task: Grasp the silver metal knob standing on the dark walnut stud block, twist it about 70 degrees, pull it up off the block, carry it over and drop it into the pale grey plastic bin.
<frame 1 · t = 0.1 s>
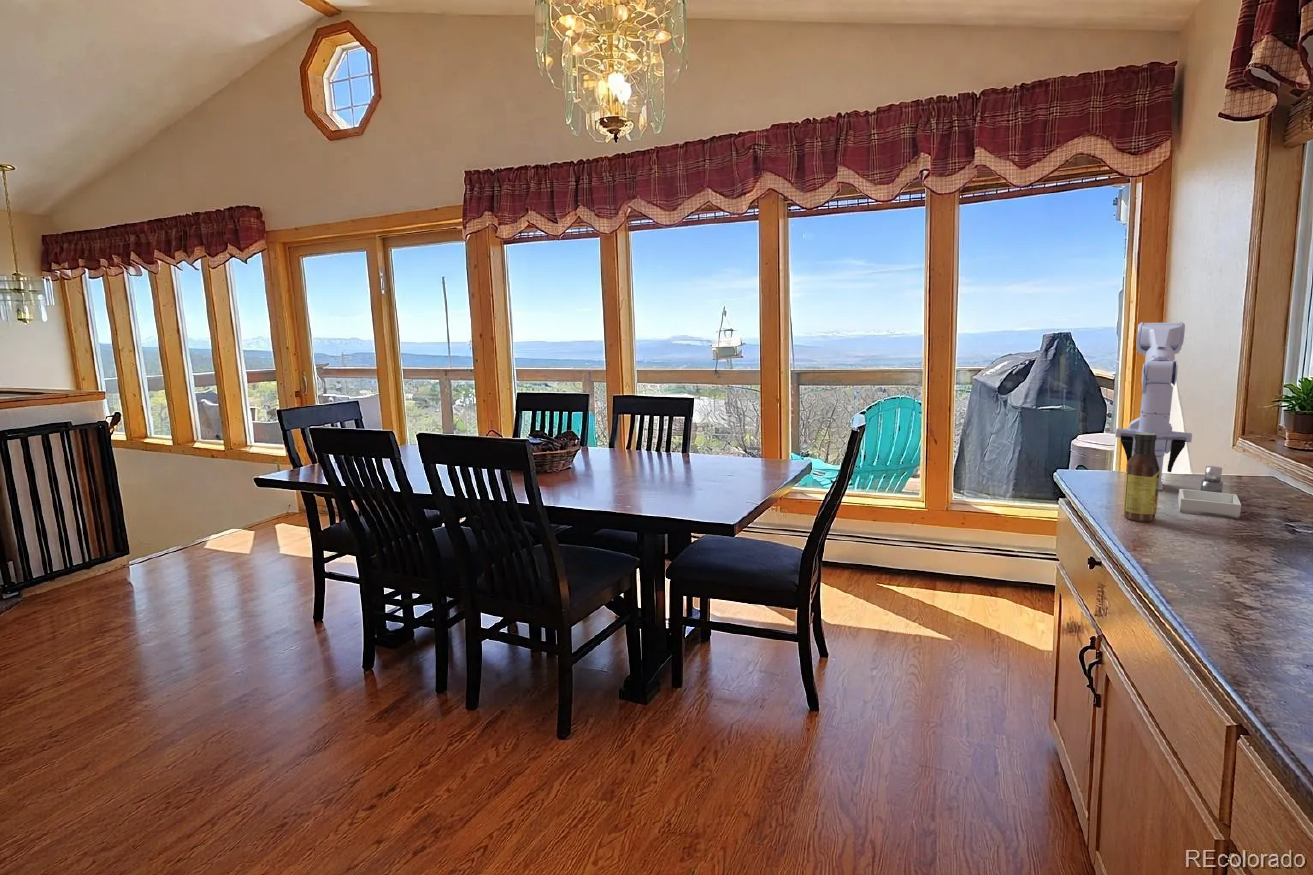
hand: (1149, 469, 166), 10 cm above the counter, fingers open, 7 cm apart
bin: (1207, 509, 167), on the counter
silver metal knob: (1210, 495, 174), point 2 cm above the counter, touching stud block
stud block: (1209, 501, 174), on the counter
sauce bottle: (1138, 519, 162), on the counter
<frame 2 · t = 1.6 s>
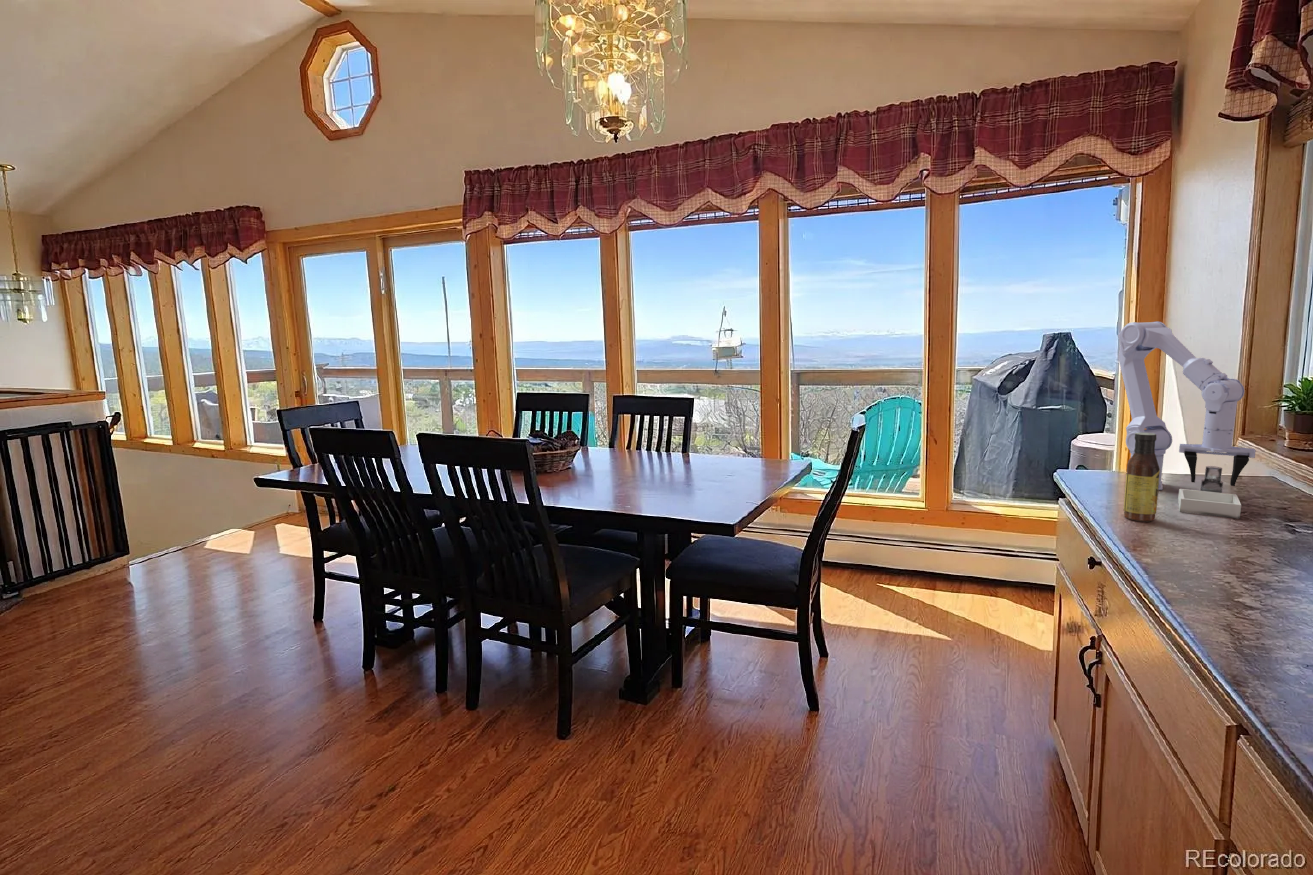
hand: (1212, 483, 173), 5 cm above the counter, fingers open, 7 cm apart
nothing on the counter moved.
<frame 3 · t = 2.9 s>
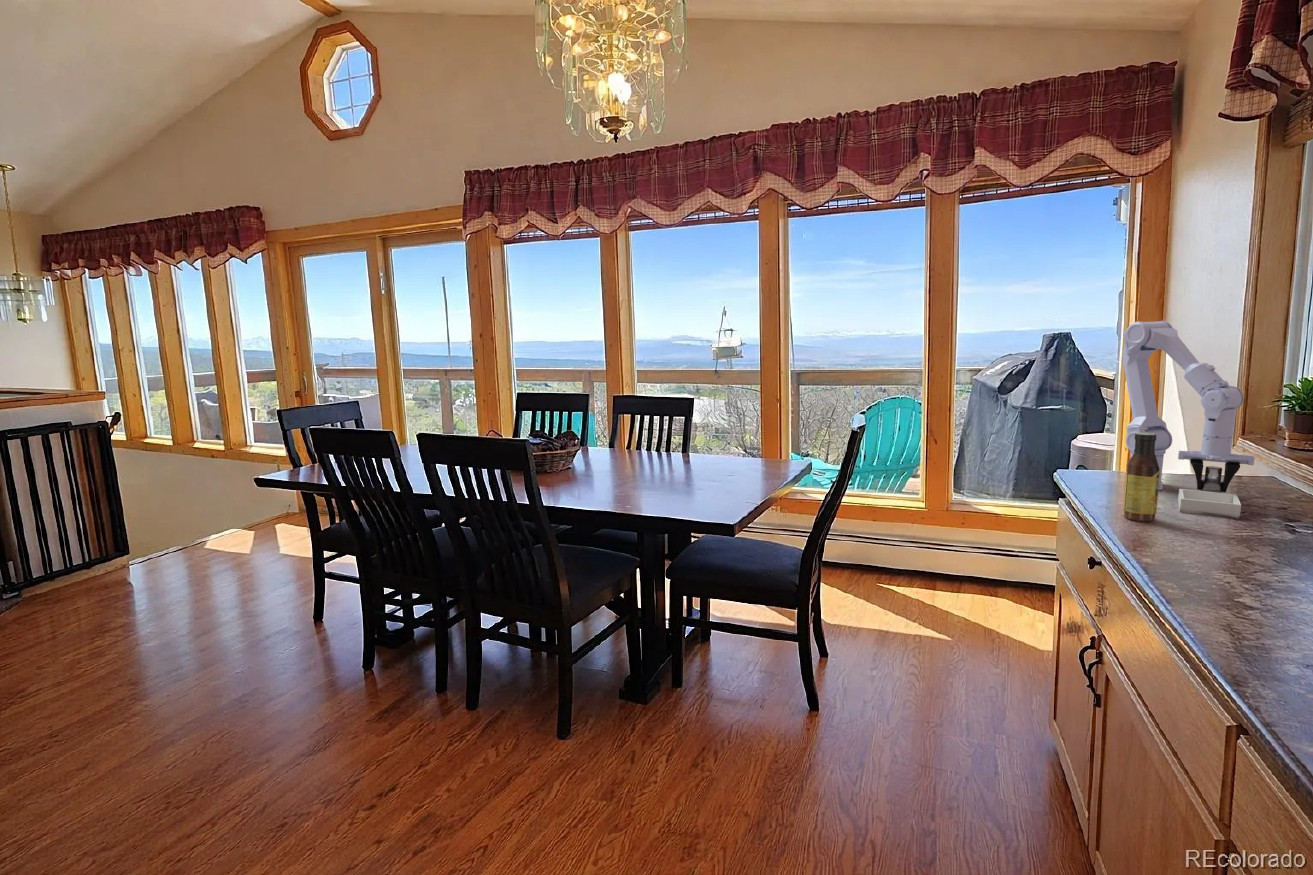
hand: (1211, 490, 174), 3 cm above the counter, fingers closed on silver metal knob, 4 cm apart
silver metal knob: (1210, 495, 174), point 2 cm above the counter, touching gripper, stud block
everything else where it was.
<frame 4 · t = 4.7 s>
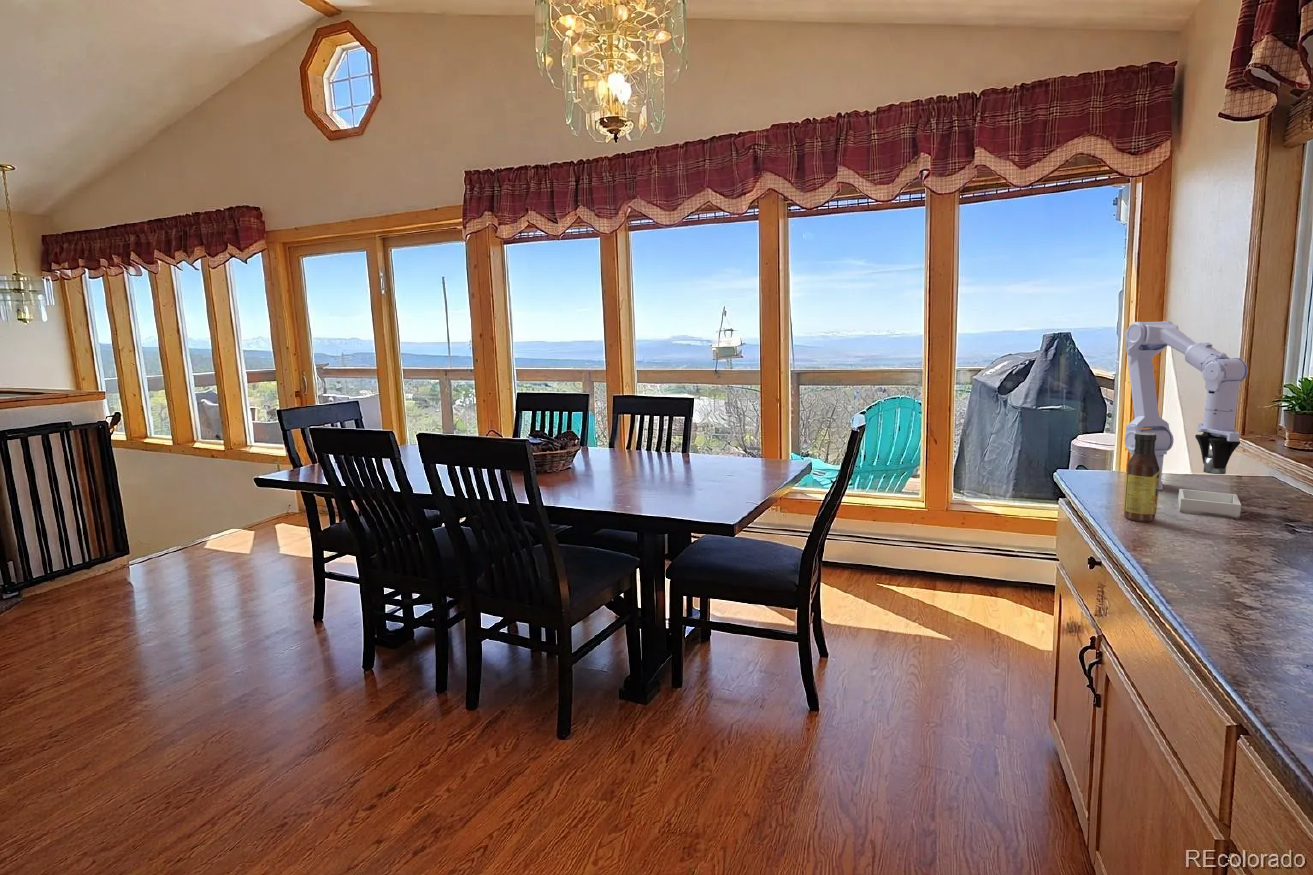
hand: (1213, 466, 168), 10 cm above the counter, fingers closed on silver metal knob, 4 cm apart
silver metal knob: (1214, 472, 168), point 9 cm above the counter, touching gripper
everything else where it was.
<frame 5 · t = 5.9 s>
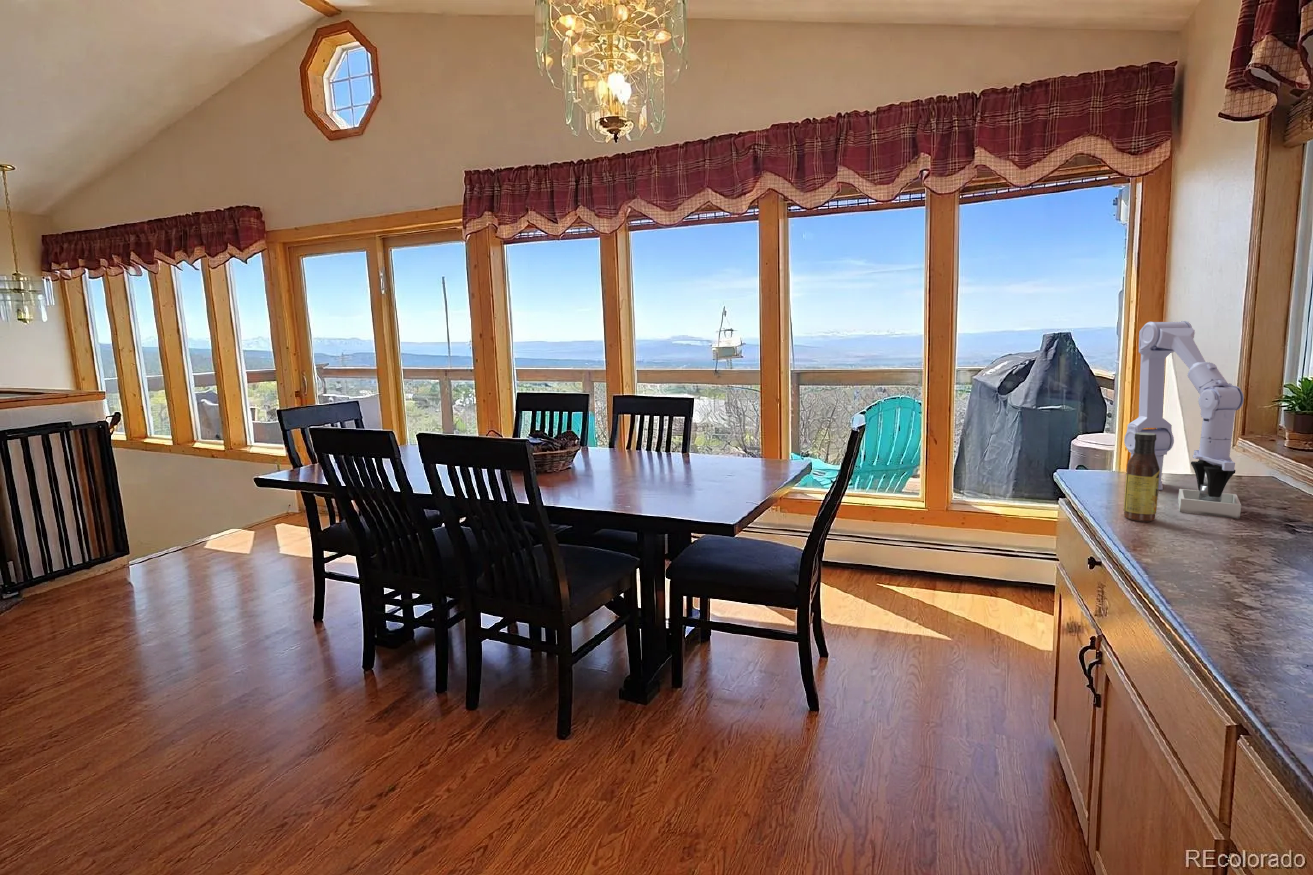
hand: (1209, 493, 167), 4 cm above the counter, fingers closed on silver metal knob, 4 cm apart
silver metal knob: (1209, 500, 167), point 2 cm above the counter, touching gripper
everything else where it was.
when the fingers open (4 cm above the counter, at t = 6.7 s): silver metal knob drops 2 cm, resting on bin.
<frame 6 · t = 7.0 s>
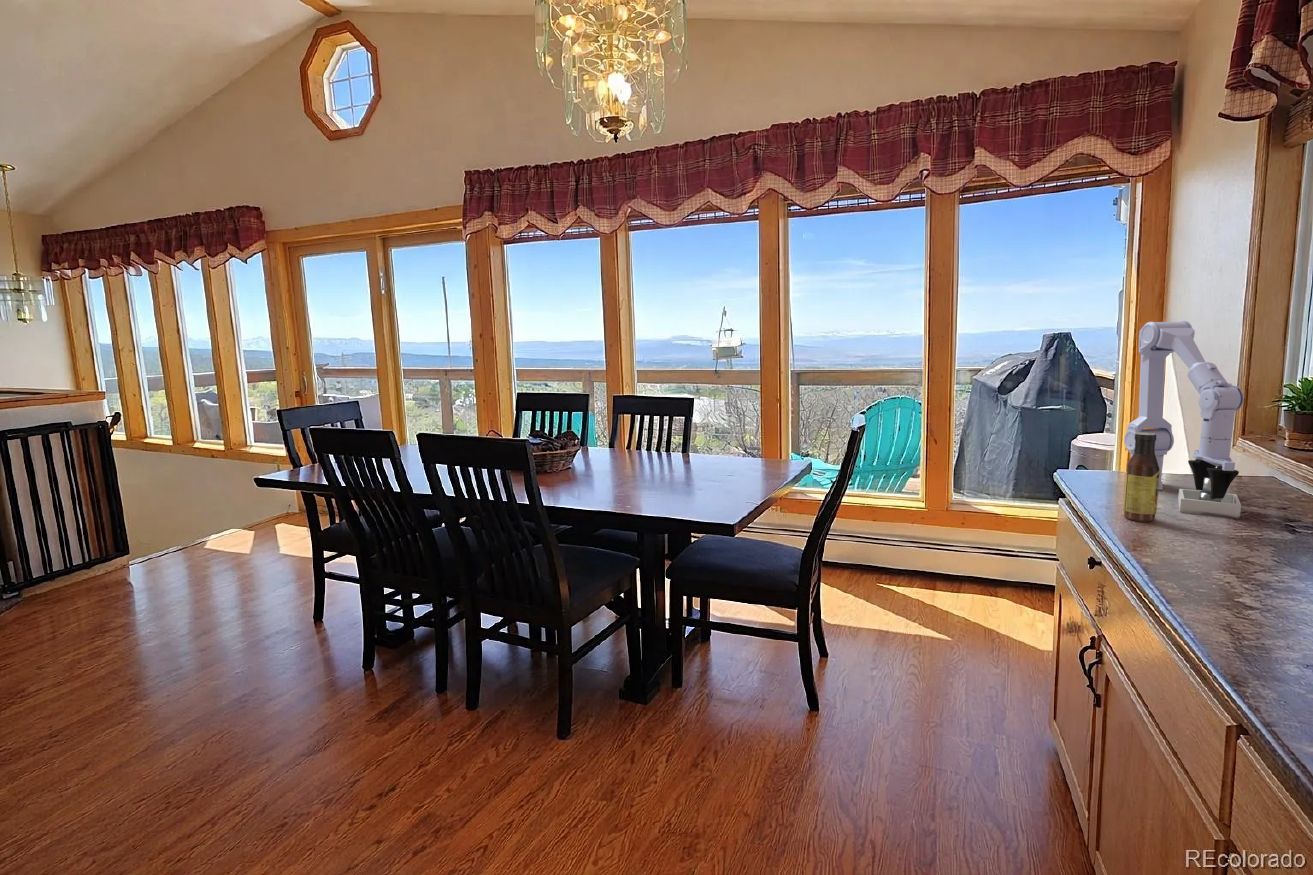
hand: (1209, 493, 167), 4 cm above the counter, fingers open, 7 cm apart
silver metal knob: (1209, 507, 167), point 1 cm above the counter, touching bin
everything else where it was.
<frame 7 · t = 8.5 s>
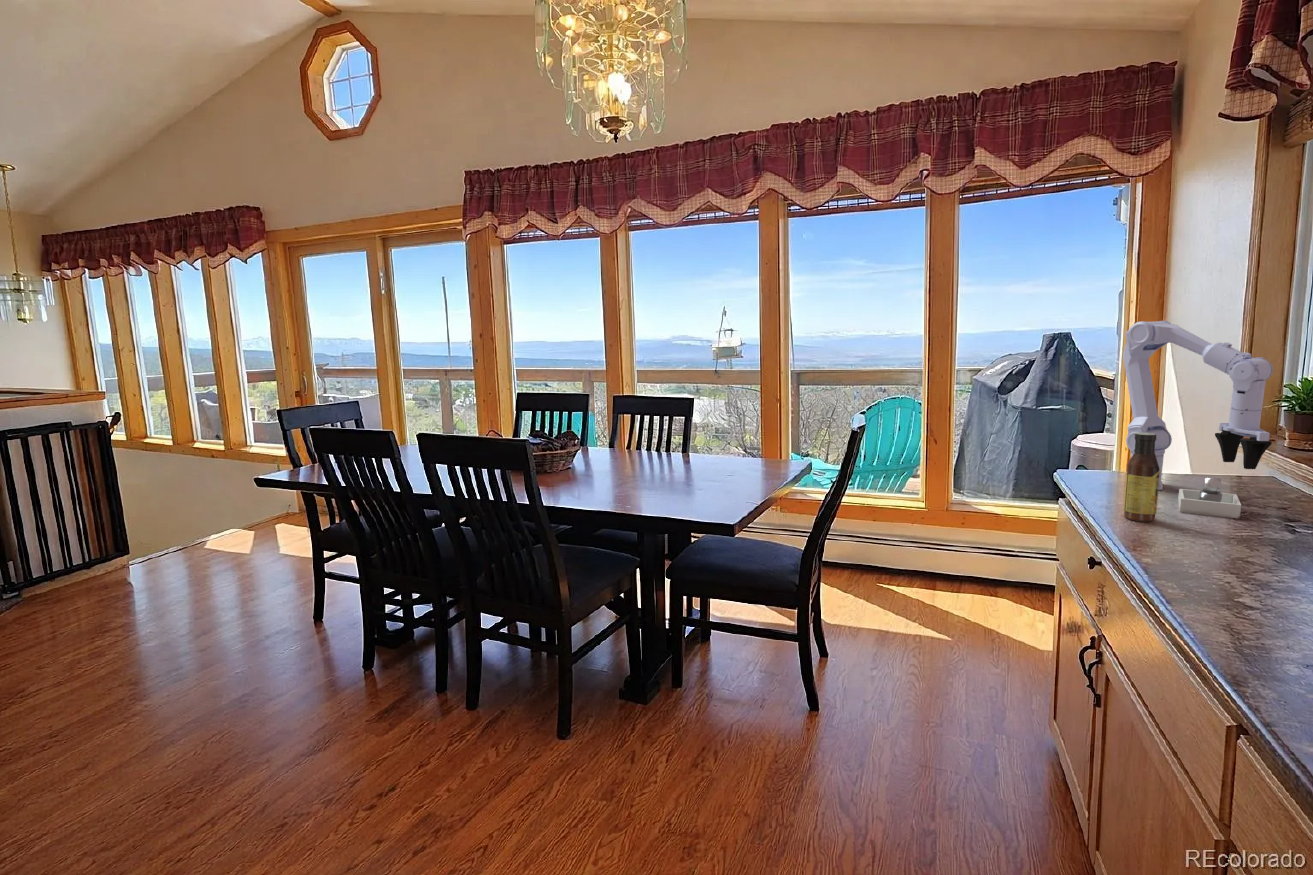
hand: (1238, 465, 169), 10 cm above the counter, fingers open, 7 cm apart
nothing on the counter moved.
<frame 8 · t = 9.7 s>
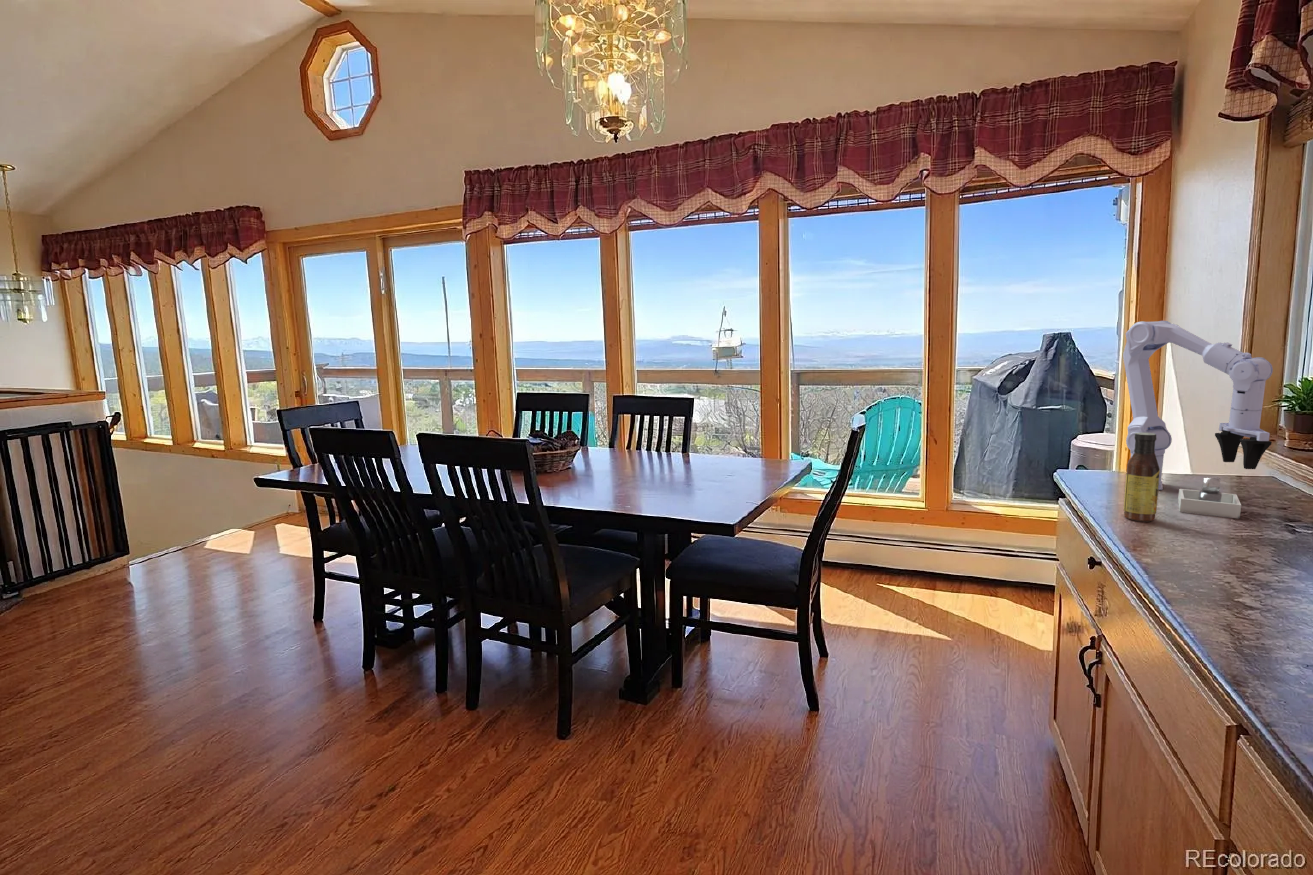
hand: (1238, 465, 169), 10 cm above the counter, fingers open, 7 cm apart
nothing on the counter moved.
at the end: silver metal knob inside the target area on the bin (0.3 cm from its centre), point 0.7 cm above the bin's base; the gripper is holding nothing; silver metal knob moved 9.0 cm from its start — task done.
